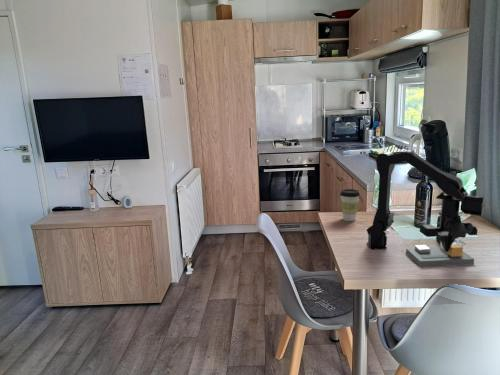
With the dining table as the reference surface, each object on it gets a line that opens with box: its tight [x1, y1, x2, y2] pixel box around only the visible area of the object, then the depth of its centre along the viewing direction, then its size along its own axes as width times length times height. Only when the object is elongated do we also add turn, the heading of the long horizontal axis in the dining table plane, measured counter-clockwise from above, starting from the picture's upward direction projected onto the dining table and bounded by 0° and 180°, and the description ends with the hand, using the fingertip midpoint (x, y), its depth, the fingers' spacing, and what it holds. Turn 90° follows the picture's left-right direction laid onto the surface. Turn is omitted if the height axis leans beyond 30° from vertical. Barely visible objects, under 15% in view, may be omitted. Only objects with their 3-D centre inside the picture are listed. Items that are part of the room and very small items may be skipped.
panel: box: [405, 246, 475, 267], centre depth 143 cm, size 20×12×2 cm, turn 91°
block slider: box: [447, 243, 464, 257], centre depth 140 cm, size 4×3×4 cm
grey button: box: [414, 244, 431, 254], centre depth 146 cm, size 4×4×3 cm
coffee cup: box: [339, 188, 361, 222], centre depth 191 cm, size 10×10×15 cm
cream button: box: [439, 241, 455, 253], centre depth 146 cm, size 4×4×3 cm
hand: (446, 251), depth 140 cm, fingers closed
